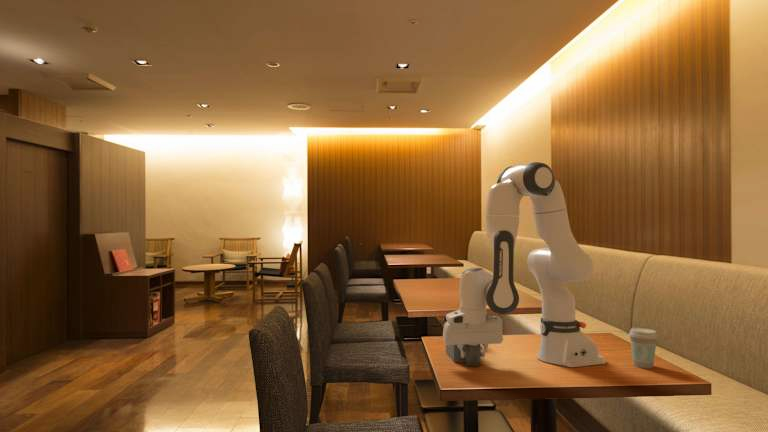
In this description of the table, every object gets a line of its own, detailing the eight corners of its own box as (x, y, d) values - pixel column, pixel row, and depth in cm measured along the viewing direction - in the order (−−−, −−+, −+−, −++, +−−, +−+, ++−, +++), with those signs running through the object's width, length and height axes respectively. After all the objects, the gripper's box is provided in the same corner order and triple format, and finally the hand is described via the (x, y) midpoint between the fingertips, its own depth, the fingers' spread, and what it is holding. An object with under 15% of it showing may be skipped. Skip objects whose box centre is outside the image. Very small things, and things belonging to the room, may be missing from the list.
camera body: (469, 352, 174) (469, 329, 174) (479, 361, 163) (479, 336, 163) (446, 352, 173) (446, 329, 173) (453, 361, 162) (453, 337, 162)
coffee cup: (623, 362, 162) (623, 327, 162) (647, 361, 163) (647, 327, 163) (639, 370, 154) (639, 333, 154) (663, 369, 155) (663, 333, 155)
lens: (477, 362, 162) (477, 339, 162) (482, 366, 157) (482, 343, 157) (463, 362, 161) (463, 339, 161) (467, 367, 156) (467, 343, 156)
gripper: (499, 313, 163) (499, 353, 163) (441, 314, 161) (441, 355, 161) (505, 317, 157) (505, 358, 157) (445, 318, 155) (445, 360, 155)
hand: (472, 356), depth 159 cm, fingers closed on lens, 5 cm apart
